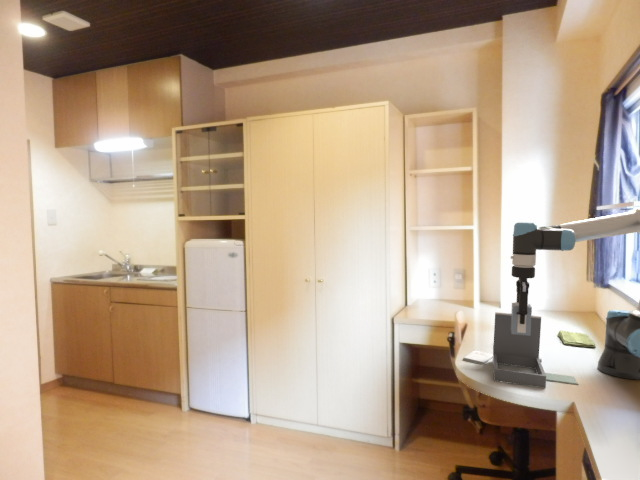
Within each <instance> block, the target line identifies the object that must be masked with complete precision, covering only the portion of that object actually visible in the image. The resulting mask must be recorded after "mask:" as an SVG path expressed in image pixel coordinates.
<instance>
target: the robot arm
mask: <svg viewBox="0 0 640 480" xmlns="http://www.w3.org/2000/svg"><path fill="white" fill-rule="evenodd" d="M634 233H638V234H639V235H640V207H634V208H633V209H632V210H631V211H628V212H623V213H617V214H616V213H615V214H611V215H605V216H599V217H595V218H594V217H593V218H588V219H584V220H578V221H571V222H567V223H561V224H557V225H551V226H540V227H538V223H536V222H516V223H515V224H514V225H513V234H512V255H511V256H510V259H511V260H512V265H513V266H511V277H514V278H518V279H517V280H516V282H515V286H516V289H515V290H516V302H517V303H519V312H516V314H518V324H517V332H518V333H526V316H527V315H526V314H527V313H528V312H527V305H528V304H529V303H528V302H529V301H528V299H529V298H528V297H529V289H530V282H529V281H528V279H534V278H535V276H536V268H535V266H536V264H537V263H536V259H537V250H538V251H541V250H542V251H562V252H564V251H565V252H566V251H572V250H573V249H574V248H575V246H576V245H575V244H576V243H578V242H583V241H586V242H587V241H591V240H596V239H603V238H609V237H615V236H622V235H627V234H634ZM523 310H525V311H523ZM606 315H607V316H606V318H605V319H606V322H605V323H606V324H605V338H604V349H603V351H602V353H601V355H600V357H599V360H598V362H597V370H599V371H601V372H602V373H604V374H607V375H610V376H612V377H617V378H622V379H629V380H640V300H639V301H638V305H637V307H636V309H633V310H621V309H610V310H608V311H607V314H606Z"/></svg>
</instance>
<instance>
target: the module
mask: <svg viewBox="0 0 640 480" xmlns="http://www.w3.org/2000/svg"><path fill="white" fill-rule="evenodd" d="M531 305H532V304H531V303H528V305H527V312H528V313H527V314H526V315H527V316H526V333H518V332H517V324H518V314H516V312H519V303H517V301H515V302H511V312H510V313H511V333H512V334H518V335H528V336H530V335H531V315H532V314H533V313H532V311H533V308H532V306H531ZM523 311H525V310H523Z"/></svg>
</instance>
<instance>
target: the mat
mask: <svg viewBox="0 0 640 480" xmlns="http://www.w3.org/2000/svg"><path fill="white" fill-rule="evenodd" d="M545 374H546V382H547V381H549V382H555V383H563V384H571V385H577V386H578V385H579V383H578V381H577V379H576V377H575V376H573V375H566V374H558V373H550V372H545Z"/></svg>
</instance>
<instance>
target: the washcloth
mask: <svg viewBox="0 0 640 480" xmlns="http://www.w3.org/2000/svg"><path fill="white" fill-rule="evenodd" d="M557 337H559V339H560V340H561V341H562V343H563V344H564V346H572V347H573V346H574V347H584V348H585V347H586V348H593V349H596V344H595V341H594V340H593V339H592V338H591V337H590V336H589V335H588V333H581V332H573V331H568V330H567V331H566V330H559V331H558V333H557Z"/></svg>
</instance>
